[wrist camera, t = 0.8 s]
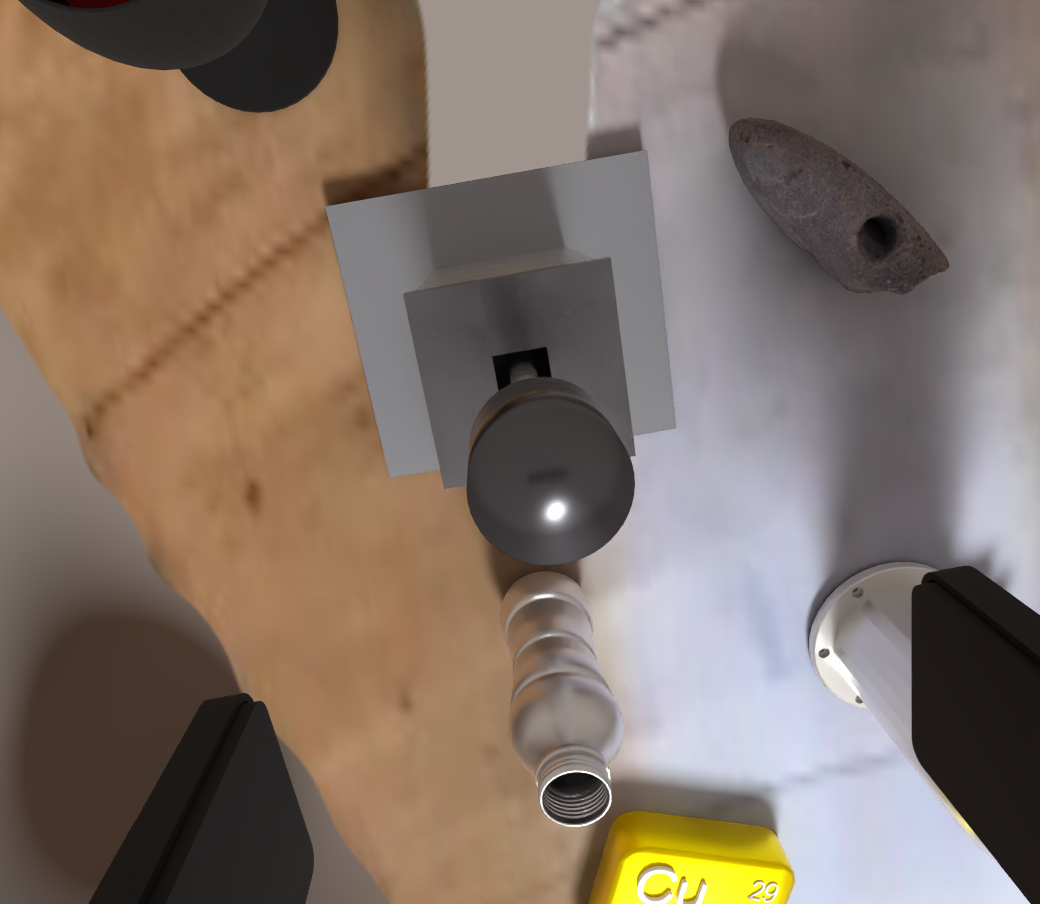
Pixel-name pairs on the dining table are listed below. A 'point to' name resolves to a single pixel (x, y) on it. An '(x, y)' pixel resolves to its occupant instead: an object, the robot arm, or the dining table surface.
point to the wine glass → (210, 42)
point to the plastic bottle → (560, 698)
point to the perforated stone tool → (833, 209)
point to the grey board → (489, 235)
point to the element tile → (690, 862)
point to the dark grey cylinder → (546, 469)
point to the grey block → (514, 339)
